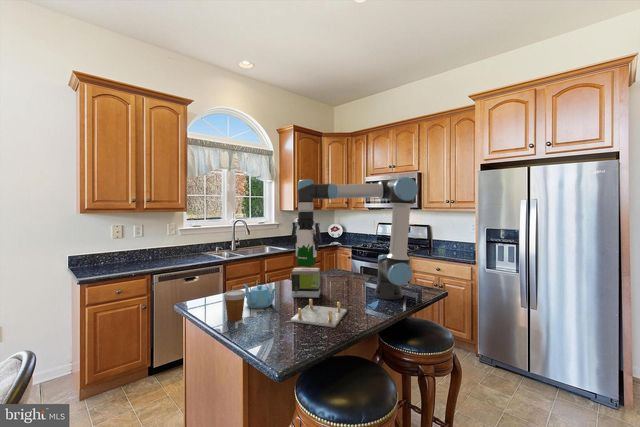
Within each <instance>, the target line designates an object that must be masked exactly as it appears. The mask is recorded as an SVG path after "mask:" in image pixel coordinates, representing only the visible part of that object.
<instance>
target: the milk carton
mask: <svg viewBox="0 0 640 427" xmlns="http://www.w3.org/2000/svg"><path fill="white" fill-rule="evenodd" d="M313 234H315V235H316V236H317V234H316V230H315V228H313V229H312V230H308V229H306V230H299V228H298V229H297V230H296V235H297V256H296V266H297V267H302V268H312V267H314V266H315V265H316V262H317V261H316V259H317V257H315V258H314V257H313V244H314V241H313Z"/></svg>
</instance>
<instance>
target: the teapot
mask: <svg viewBox="0 0 640 427" xmlns="http://www.w3.org/2000/svg"><path fill="white" fill-rule="evenodd" d="M243 286H244V289H245V290H244V292H245V294H246V296H245V298H246V302H245V303H246V305H247V306H248V307H249V308H250V309H256V310H257V309H259V310H260V309H265V308H269V307H270V306H271V305H272V304H273V301H274V299H275V292H276V290H277V289H278V288H277V287H275V288H272V290H271V292H270V289H269V286H265V285H264V286H263V285H262V284H258V285H257V286H256V287H255V286H254V287H253V288H251V290H249V286H248V285H247V284H245V283H243Z"/></svg>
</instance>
